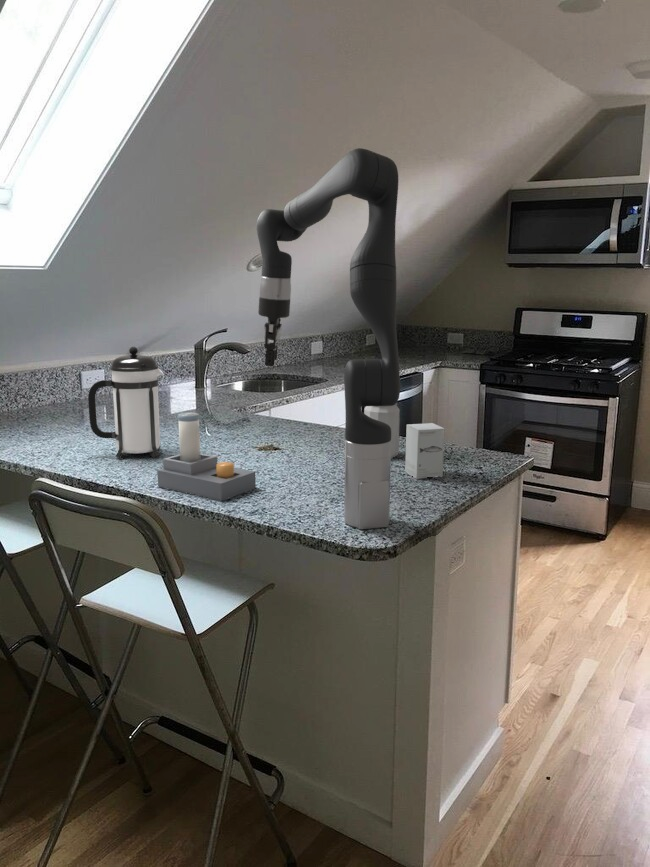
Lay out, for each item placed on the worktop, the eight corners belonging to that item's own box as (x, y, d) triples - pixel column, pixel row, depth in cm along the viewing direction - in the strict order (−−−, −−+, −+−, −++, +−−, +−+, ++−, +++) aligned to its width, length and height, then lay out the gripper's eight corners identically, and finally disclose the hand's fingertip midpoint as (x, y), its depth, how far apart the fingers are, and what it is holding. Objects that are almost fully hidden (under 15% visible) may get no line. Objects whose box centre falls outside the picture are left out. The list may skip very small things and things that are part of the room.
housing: (255, 488, 174) (255, 461, 173) (221, 500, 164) (220, 472, 163) (193, 475, 185) (192, 449, 184) (158, 486, 175) (156, 460, 174)
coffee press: (142, 444, 217) (136, 342, 211) (177, 453, 207) (172, 346, 201) (90, 456, 204) (83, 347, 197) (125, 465, 194) (118, 351, 188)
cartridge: (202, 469, 175) (200, 415, 172) (181, 471, 174) (178, 417, 171) (199, 464, 180) (198, 412, 177) (179, 465, 178) (177, 413, 175)
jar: (401, 453, 208) (403, 389, 204) (395, 461, 199) (396, 395, 195) (367, 450, 210) (368, 388, 206) (359, 459, 201) (360, 393, 197)
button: (237, 480, 171) (237, 463, 171) (226, 484, 168) (225, 467, 167) (224, 477, 174) (224, 461, 173) (213, 481, 170) (212, 464, 170)
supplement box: (416, 479, 181) (417, 429, 179) (404, 472, 188) (405, 423, 185) (443, 477, 183) (445, 427, 181) (431, 470, 190) (432, 422, 187)
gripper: (288, 300, 171) (284, 369, 175) (292, 294, 184) (287, 358, 189) (256, 298, 171) (252, 366, 175) (262, 292, 184) (258, 356, 189)
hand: (271, 362), depth 182 cm, fingers open, 8 cm apart
